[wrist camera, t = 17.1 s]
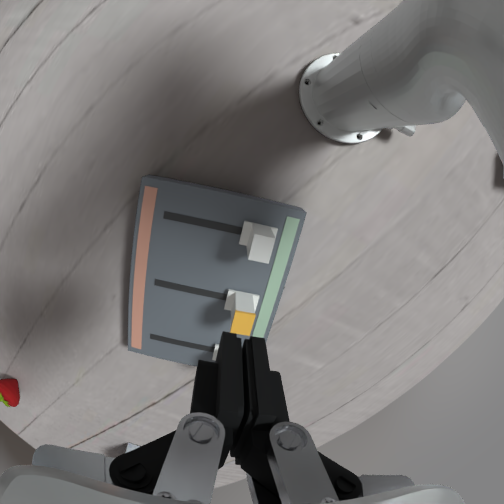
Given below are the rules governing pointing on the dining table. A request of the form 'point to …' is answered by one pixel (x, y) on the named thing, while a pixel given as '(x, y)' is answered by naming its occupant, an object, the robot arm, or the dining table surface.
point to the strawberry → (9, 392)
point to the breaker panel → (201, 266)
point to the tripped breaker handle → (241, 311)
